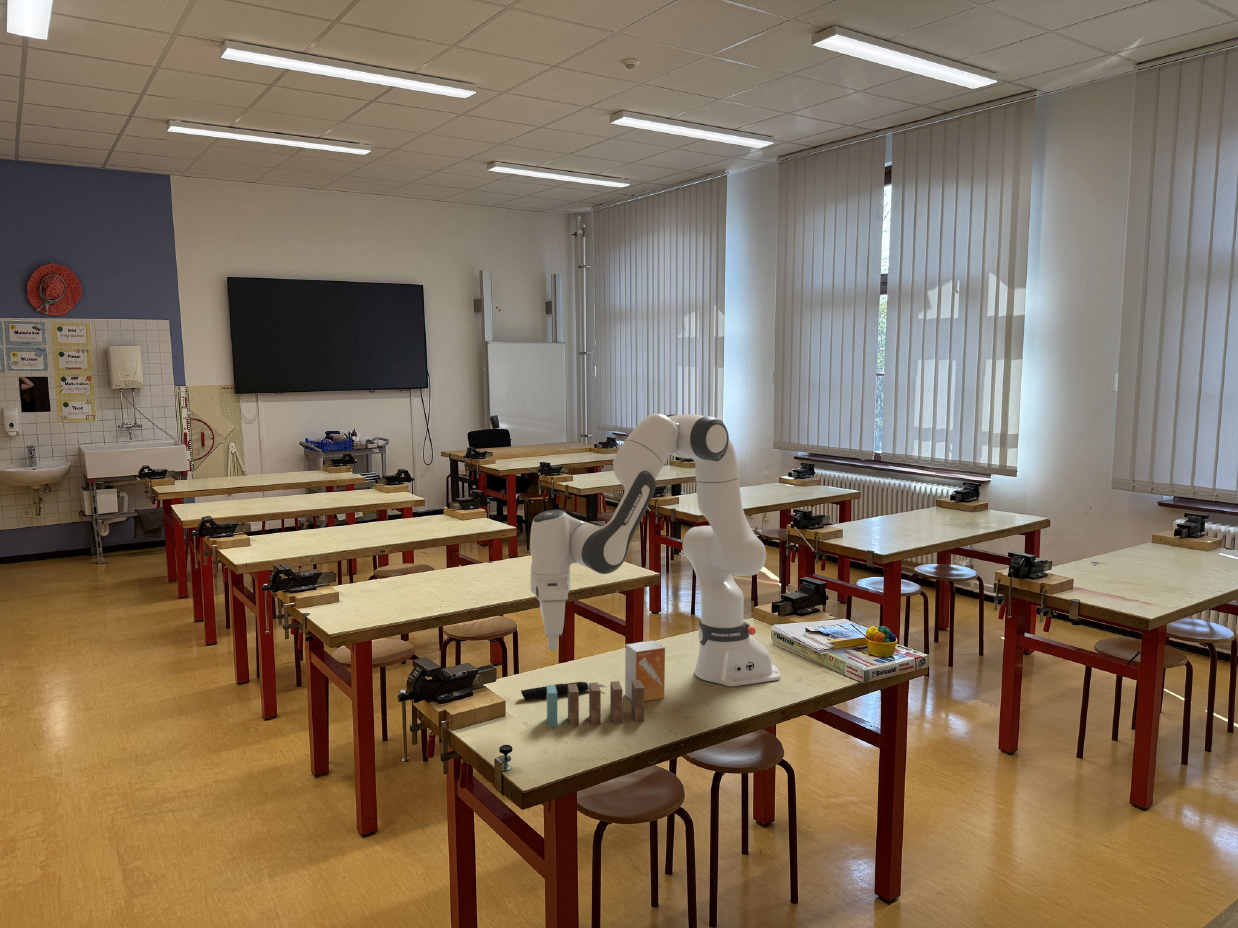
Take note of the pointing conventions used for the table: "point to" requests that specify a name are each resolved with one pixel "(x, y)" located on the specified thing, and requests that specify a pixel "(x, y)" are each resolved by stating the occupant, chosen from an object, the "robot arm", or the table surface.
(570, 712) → the domino
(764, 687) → the table surface
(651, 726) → the table surface
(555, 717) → the domino
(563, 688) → the utility knife
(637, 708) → the domino
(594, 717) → the domino
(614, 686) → the domino
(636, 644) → the small box
